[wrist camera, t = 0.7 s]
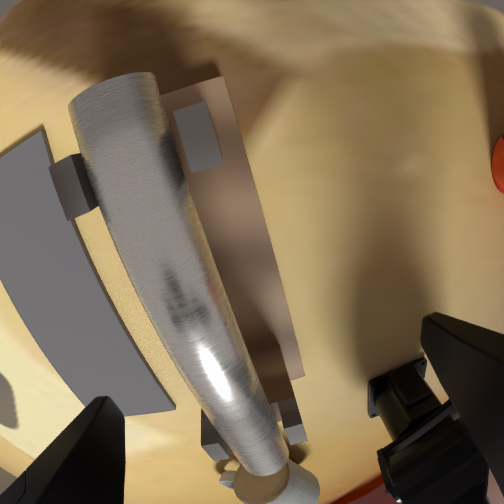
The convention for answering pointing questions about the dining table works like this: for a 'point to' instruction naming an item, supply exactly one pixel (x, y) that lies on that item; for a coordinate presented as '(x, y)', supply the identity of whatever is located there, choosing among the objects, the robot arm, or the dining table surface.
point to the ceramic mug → (274, 485)
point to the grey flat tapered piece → (66, 290)
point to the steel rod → (173, 260)
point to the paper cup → (498, 164)
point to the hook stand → (222, 241)
